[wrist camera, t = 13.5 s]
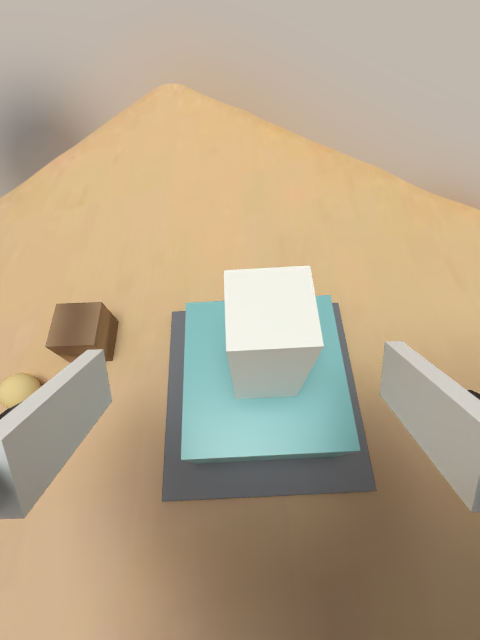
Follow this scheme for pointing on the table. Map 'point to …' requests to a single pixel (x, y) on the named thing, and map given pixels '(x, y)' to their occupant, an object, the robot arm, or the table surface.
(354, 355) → the table surface
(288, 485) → the mat
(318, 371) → the cover
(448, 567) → the table surface
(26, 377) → the mustard ball
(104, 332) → the walnut cube
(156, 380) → the table surface
